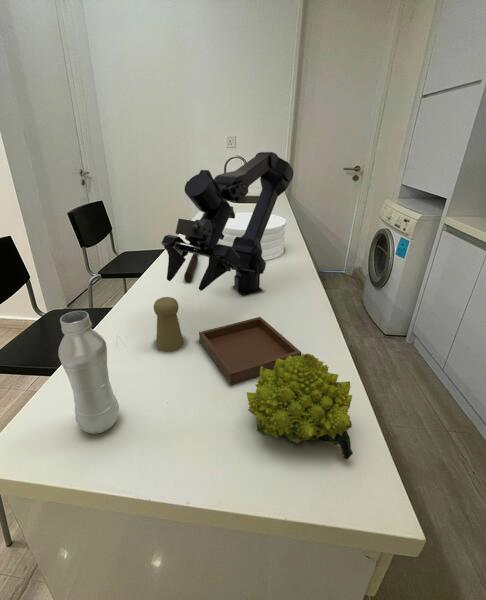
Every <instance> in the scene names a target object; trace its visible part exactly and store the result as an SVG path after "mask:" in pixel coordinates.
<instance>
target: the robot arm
mask: <svg viewBox="0 0 486 600" xmlns="http://www.w3.org/2000/svg"><path fill="white" fill-rule="evenodd" d="M293 178H294V168H292V166H291V164H290V163H289V162H288V161H287V160H284V159H283V158H281V157H279V156H278V154H277V152H276V153H275V152H273V151H259V152H257V153H256V154H255V156H254V157H253V158H251V159H250V160H248V161H246V163H244V164H243V165H241V166H239V168H237V169H236V170H233V171H227V172H223V173H220V174H218V175H216V176H215V177H214V178H213V176H212V173H211V171H210V170H209V169H200V171H199V173H197V174H195V175H193V176H192V177H191V178H189V180H188V181H186V183H185V185H184V193H185V194H186V196H187V197H188V199H189V200H190V201H191V202H192V203H193V205H194V206H195V207H196V208H197V210H198V211H199V212H201V213H203V214H202V216H201V217H200V218H199V219H195V220H192V219H186V218H178V219H177V223H176V228H175V234H176V235H173V234H166V235H164V237H163V239H162V241H161V243H160V244H161V245H162V246H163V249H165V250H166V252H167V255H168V263H167V271H166V272H167V273H166V280H167V281H168V282H171V281H173V279H174V278H175V276H176V275H177V274H178V272H179V270H180V269H181V267H182V266H183V265H184V263H185V262H186V260H187V258H185V257H186V256H188V254H192V255H193V254H197V255H198V256H202V257H206V258H208V265H207V267H206V270H205V271H204V274H203V276H202V278H201V280H200V283H199V286H198V290H199V291H201V292H202V291H204V290H205V289H206V288H207V287H209V286H210V285H211V284H212V283H213V282H214V281H216V280H217V279H219V278H220V277H221V276H222V275H224V274H225V273H227V272H229V273H231V271H232V270H233V271H235V275H234V277H233V280H234V283H233V286H232V288H233V289H234V290H236V291H237V292H238V293H239V294H240V295H241V296H246V295H247V296H248V295H252V294H256V293H260V292H263V288H261V287H260V283H261V281H260V280H261V275H263V274H264V271H265V270H266V265H267V262H266V260H264V259H263V258H262V257H261V255H262V248H261V243H260V241H261V239H262V236H263V233H264V231H265V228H266V226H267V223H268V221H269V218H270V215H271V214H272V213H273V211H274V208H275V205H276V202H277V199H278V197H279V196H280V195H282V194H283V193H284V192H285V191H287V190H288V188H289V186H290V183H291V182H292V180H293ZM258 180H259V181H260V186H261V191H260V193H259V196H258V198H257V201H256V204H255V207H254V209H253V211H252V212H253V214H252V216H251V219H250V221H249V224H248V226H247V229H246V231H245V234H244V235H243V236H242V237H236V238H235V239H234V242H233V245H232V247H231V246H226V245H221V244H217V243H218V241H219V239H222V240H223V238H224V235H223V233H222V232H223V230H224V228H225V226H226V223H227V221H228V219H229V218H233V219H234V218H235V213H236V212H235V211H234V206H231V205H230V203H229V202H232V203H241V202H242V201H243V199H245V197H246V196H247V195H248V193H249V187H250V186H251V185H252V184H254V182H256V181H258ZM178 235H182V236H185V237H184V239H185V241H184V239H182V237H181V236H178ZM186 241H187V242H189V243H187V242H186Z"/></svg>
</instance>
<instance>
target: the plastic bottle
mask: <svg viewBox="0 0 486 600" xmlns="http://www.w3.org/2000/svg"><path fill="white" fill-rule="evenodd" d="M59 322H60V326H61V329H60V330H61V333H62V334H63V335H64V336H63V337H62V339H61V341H60V344H59V346H58V353H57V357H58V359H59V361H60V363H61V366H62V367H63V369H64V371H65V374H66V376H67V378H68V381H69V384H70V387H71V390H72V394H73V395H72V396H73V401H74V402H73V403H74V417H75V422H76V423H77V426H78V427H79V428H80V429H81V430H82V431H83V432H85V433H87V434H95V435H97V434H101V433H104V432H106V431H108V430H110V429H111V428H112V427H113V426H114V425H115V424H116V422H117V421H118V419H119V416H120V405H119V402H118V400H117V397H116V395H115V394H114V391H113V388H112V385H111V381H110V376H109V369H108V368H109V367H108V347H107V342H106V340H105V338H104V337H103V336H102V335H101V334H100V333H98V331H96V330H94V329H93V328H92V327H93V323H92V321H91V319H90V314H89V313H88V312H87V311H84V310H74V311H70V312H67V313H65V314H63V315H62V316H61V317H60V318H59Z"/></svg>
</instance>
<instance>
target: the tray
mask: <svg viewBox="0 0 486 600" xmlns="http://www.w3.org/2000/svg"><path fill="white" fill-rule="evenodd" d="M198 338H199V343H200V345H201V346H202V347H203V349H204V350H205V352H206V353H207V355H208V356H209V358H210V359H211V360H212V362H213V363H214V364H215V366H216V367H217V369H218V370H219V372H220V373H221V374H222V375H223V377H224V378H225V380H226V381H227V382H228V384H229V386H232V385H235V384H238V383H241V382H244V381H248V380H251V379H254V378H258V377H260V368H261V366H262V367H264V368H265V369H269V370H274V366H275V362H276V358H278V359H282V360H284V361H285V358H287V357H288V356H289V355H290V356H292V357H293V355H294V356H296V355H297V356H301V355H302V351H301V350H299V349H298V347H296V346H295V345H294V344H292V343H291V342H290V341H289V340H288V339H287V338H286V337H284V336H283V334H281V333H280V332H279V331H278V330H276V328H274V326H272V325H271V324H270V323H268V321H266V320H265V319H264V318H263V317H261V316H258V317H253V318H249V319H246V320H241V321H238V322H233V323H230V324H226V325H221V326H218V327H214V328H210V329H206V330H203V331H199V332H198Z"/></svg>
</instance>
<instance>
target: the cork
mask: <svg viewBox="0 0 486 600" xmlns="http://www.w3.org/2000/svg"><path fill="white" fill-rule="evenodd" d="M179 308H180V307H179V302H178V300H177V299H176V298H174V297H171V296H162V297H160V298H158V299H156V300H155V302H154V303H153V311H154V314H155V315H156V344H155V345H156V348H157V349H158V350H159V351H161V352H164V353H165V352H166V353H170V352H175V351H178V350H179V349H182V347H183V346H184V338H183V334H182V330H181V326H180V322H179V318H178V312H179Z"/></svg>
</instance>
